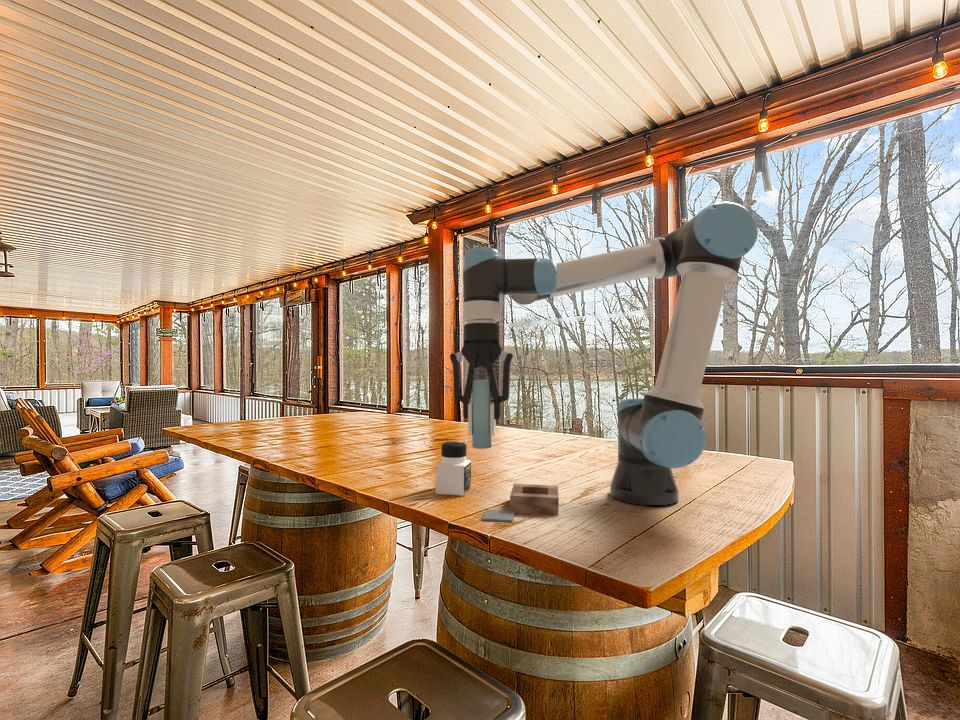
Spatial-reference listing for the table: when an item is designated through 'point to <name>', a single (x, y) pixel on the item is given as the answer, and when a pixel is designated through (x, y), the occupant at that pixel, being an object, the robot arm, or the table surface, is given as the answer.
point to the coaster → (498, 515)
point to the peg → (481, 414)
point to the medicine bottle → (453, 470)
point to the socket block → (534, 499)
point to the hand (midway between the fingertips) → (482, 434)
